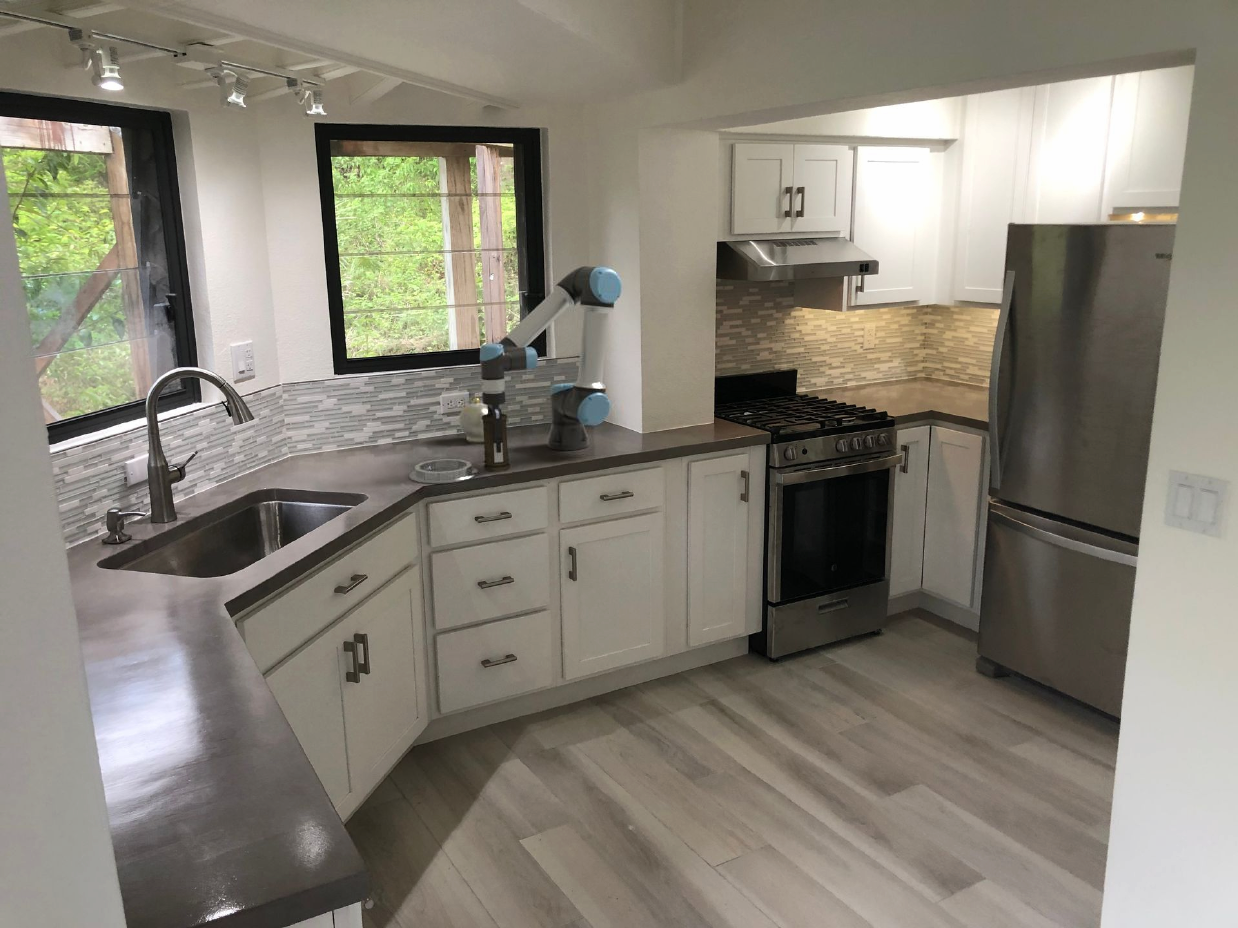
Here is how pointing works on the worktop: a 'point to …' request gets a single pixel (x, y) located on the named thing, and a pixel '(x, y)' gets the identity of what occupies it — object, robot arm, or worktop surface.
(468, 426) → the teapot
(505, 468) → the container
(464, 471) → the flange
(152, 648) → the worktop surface
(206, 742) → the worktop surface
